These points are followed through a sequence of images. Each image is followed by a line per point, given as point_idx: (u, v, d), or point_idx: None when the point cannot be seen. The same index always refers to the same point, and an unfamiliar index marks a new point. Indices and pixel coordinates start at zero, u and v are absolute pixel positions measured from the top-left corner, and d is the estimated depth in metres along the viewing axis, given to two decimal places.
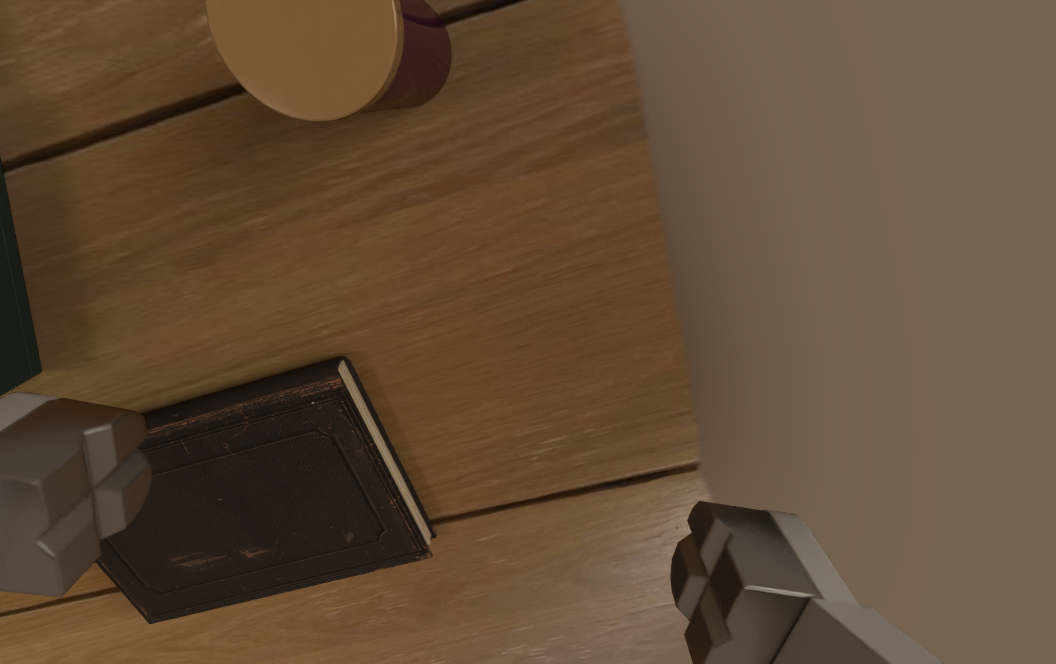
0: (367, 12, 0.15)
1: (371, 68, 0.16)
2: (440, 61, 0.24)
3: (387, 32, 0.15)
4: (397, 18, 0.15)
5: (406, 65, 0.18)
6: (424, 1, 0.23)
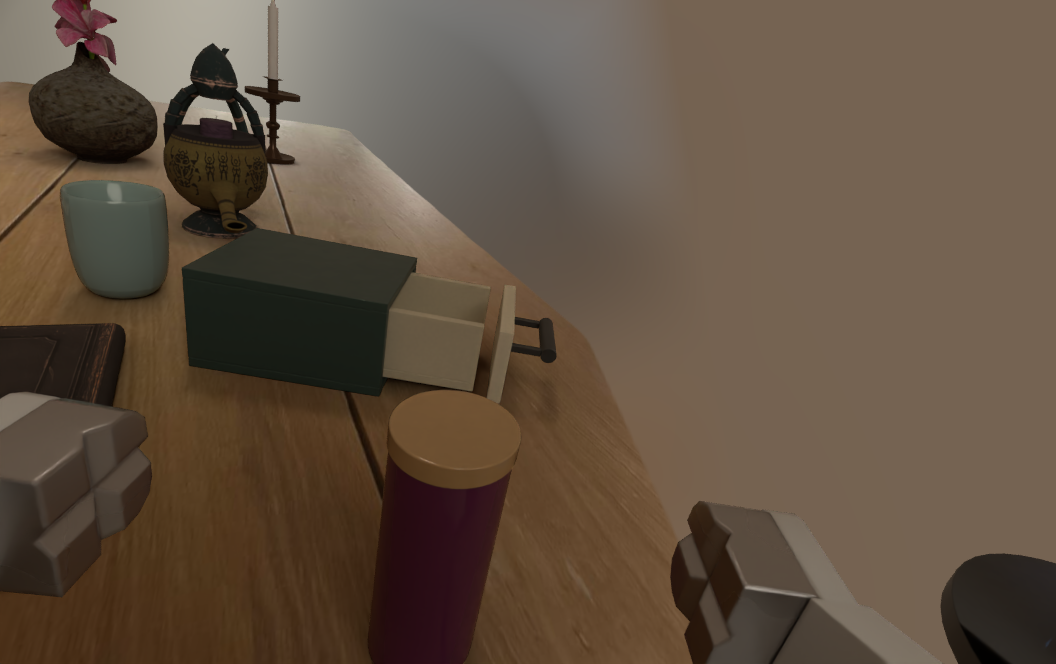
0: (465, 454, 0.20)
1: (427, 452, 0.20)
2: (417, 635, 0.23)
3: (453, 463, 0.20)
4: (463, 471, 0.19)
5: (425, 513, 0.20)
6: (468, 628, 0.25)
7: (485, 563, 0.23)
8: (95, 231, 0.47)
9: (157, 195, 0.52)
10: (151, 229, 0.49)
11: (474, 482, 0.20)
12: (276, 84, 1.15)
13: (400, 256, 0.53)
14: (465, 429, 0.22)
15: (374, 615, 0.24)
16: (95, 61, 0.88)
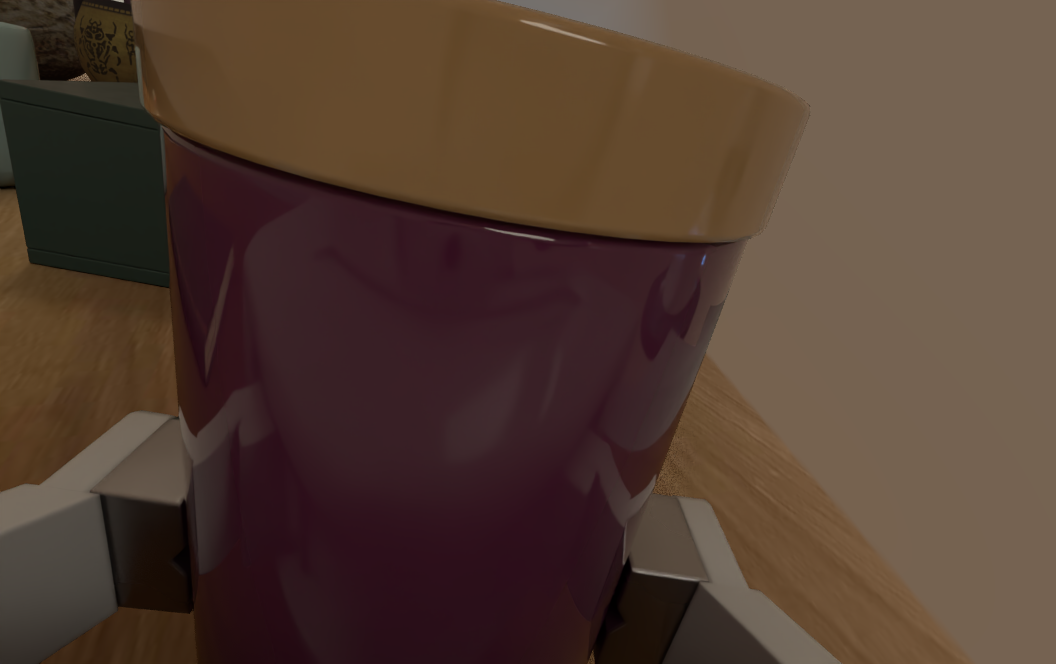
0: None
1: None
2: None
3: None
4: (587, 51, 0.03)
5: (324, 415, 0.03)
6: None
7: (591, 649, 0.06)
8: None
9: None
10: (1, 74, 0.33)
11: (642, 191, 0.03)
12: None
13: None
14: None
15: None
16: None
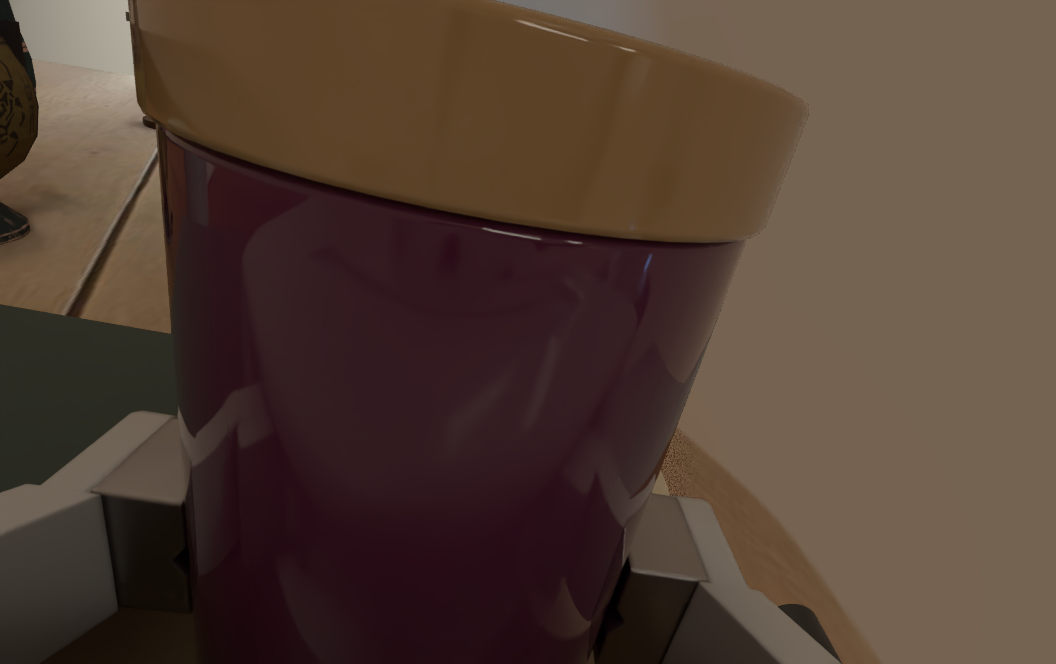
0: None
1: None
2: None
3: None
4: (585, 51, 0.03)
5: (322, 415, 0.03)
6: None
7: (591, 649, 0.06)
8: None
9: None
10: None
11: (640, 191, 0.03)
12: None
13: None
14: None
15: None
16: None
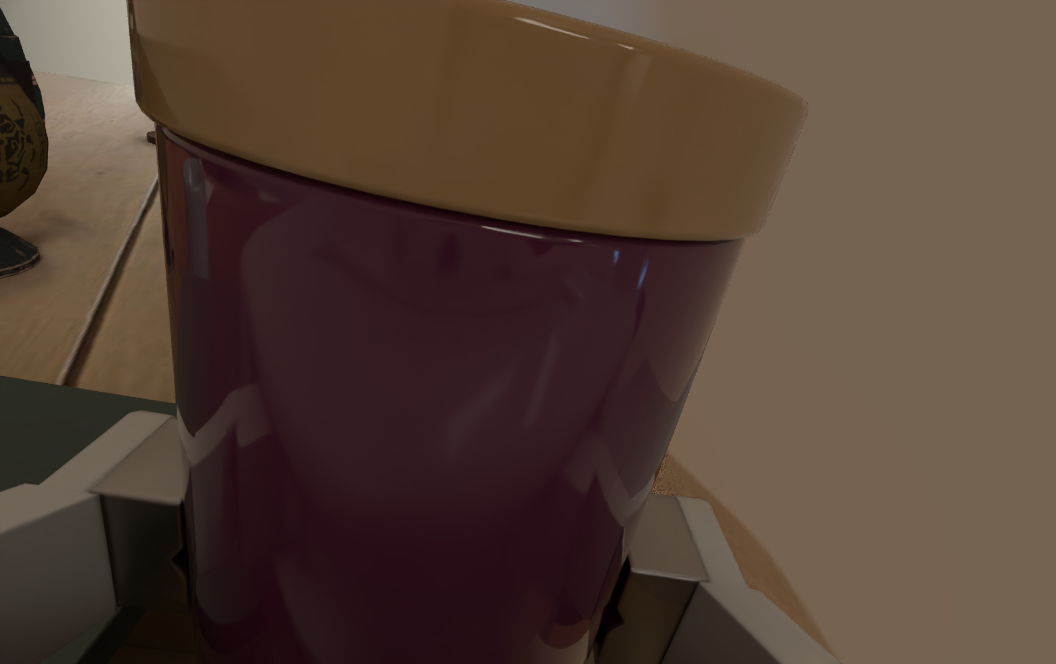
0: None
1: None
2: None
3: None
4: (583, 48, 0.03)
5: (321, 414, 0.03)
6: None
7: (591, 649, 0.06)
8: None
9: None
10: None
11: (639, 189, 0.03)
12: None
13: None
14: None
15: None
16: None
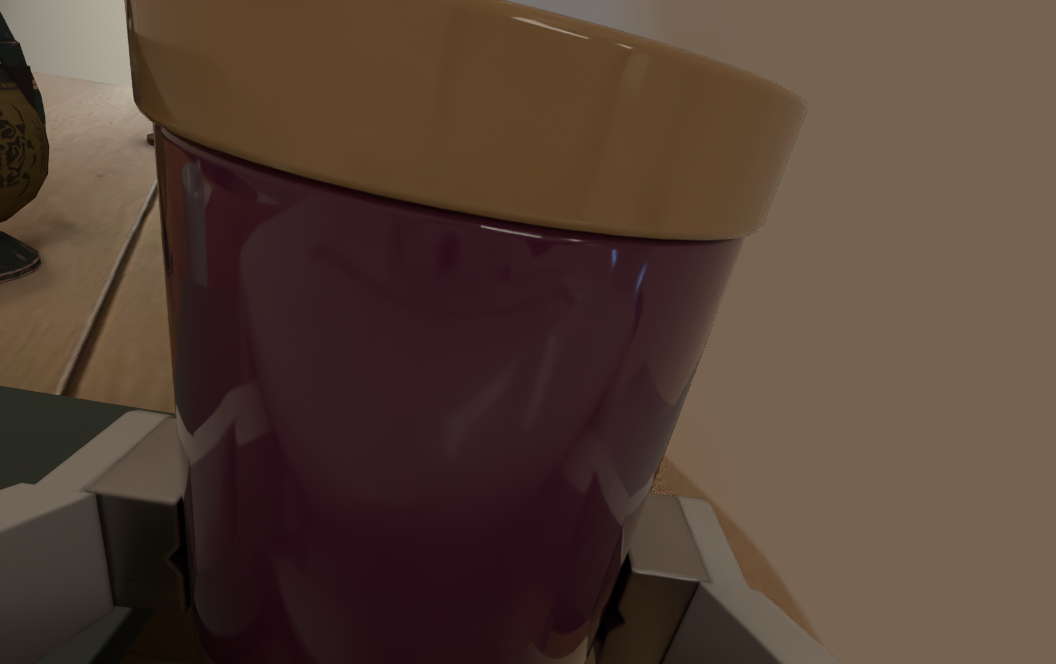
0: None
1: None
2: None
3: None
4: (580, 48, 0.03)
5: (319, 414, 0.03)
6: None
7: (590, 649, 0.06)
8: None
9: None
10: None
11: (637, 188, 0.03)
12: None
13: None
14: None
15: None
16: None
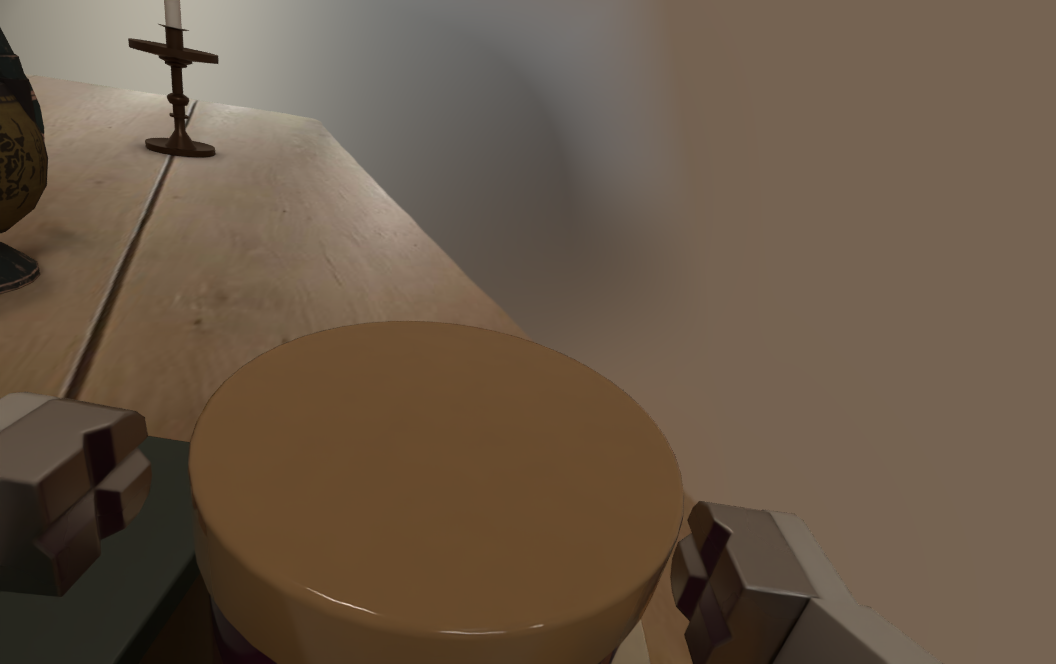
0: (499, 545, 0.05)
1: (330, 541, 0.04)
2: None
3: (447, 598, 0.04)
4: (496, 642, 0.04)
5: None
6: None
7: None
8: None
9: None
10: None
11: None
12: (179, 37, 0.76)
13: None
14: (490, 434, 0.06)
15: None
16: None
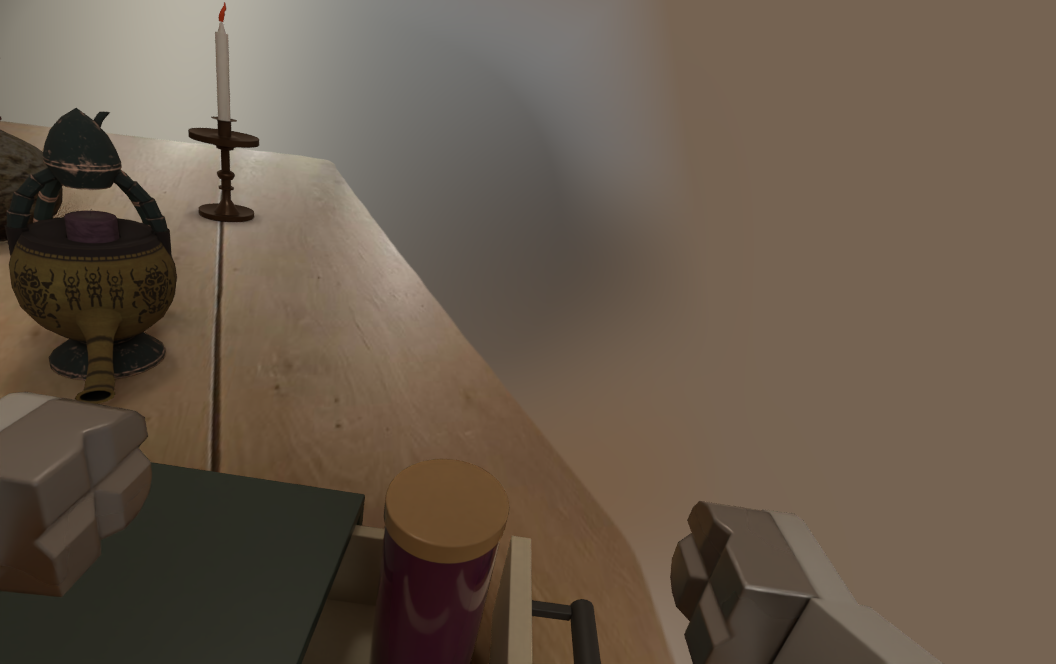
0: (457, 530, 0.22)
1: (421, 529, 0.21)
2: None
3: (445, 540, 0.21)
4: (455, 548, 0.21)
5: (419, 584, 0.22)
6: None
7: (476, 623, 0.25)
8: None
9: None
10: None
11: (465, 556, 0.22)
12: (228, 126, 0.94)
13: (336, 496, 0.31)
14: (457, 502, 0.23)
15: None
16: None
